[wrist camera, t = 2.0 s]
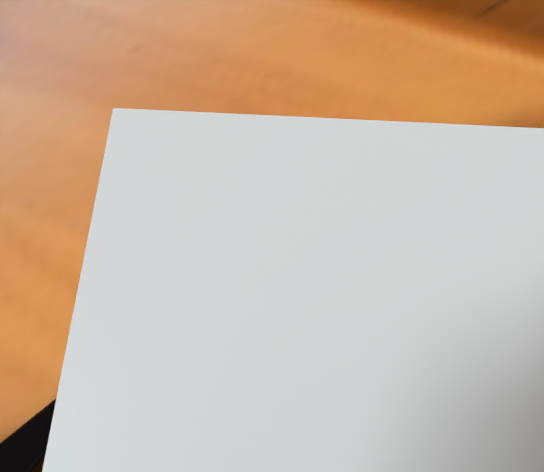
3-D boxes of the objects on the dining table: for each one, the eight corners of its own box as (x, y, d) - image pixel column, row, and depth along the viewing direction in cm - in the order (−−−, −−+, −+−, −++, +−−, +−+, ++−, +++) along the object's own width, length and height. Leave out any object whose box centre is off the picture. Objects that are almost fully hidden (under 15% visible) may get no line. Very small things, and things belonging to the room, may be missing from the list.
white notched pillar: (385, 445, 16) (662, 831, 4) (230, 426, 17) (-3, 700, 4) (391, 277, 18) (604, 131, 5) (248, 265, 18) (113, 108, 6)
